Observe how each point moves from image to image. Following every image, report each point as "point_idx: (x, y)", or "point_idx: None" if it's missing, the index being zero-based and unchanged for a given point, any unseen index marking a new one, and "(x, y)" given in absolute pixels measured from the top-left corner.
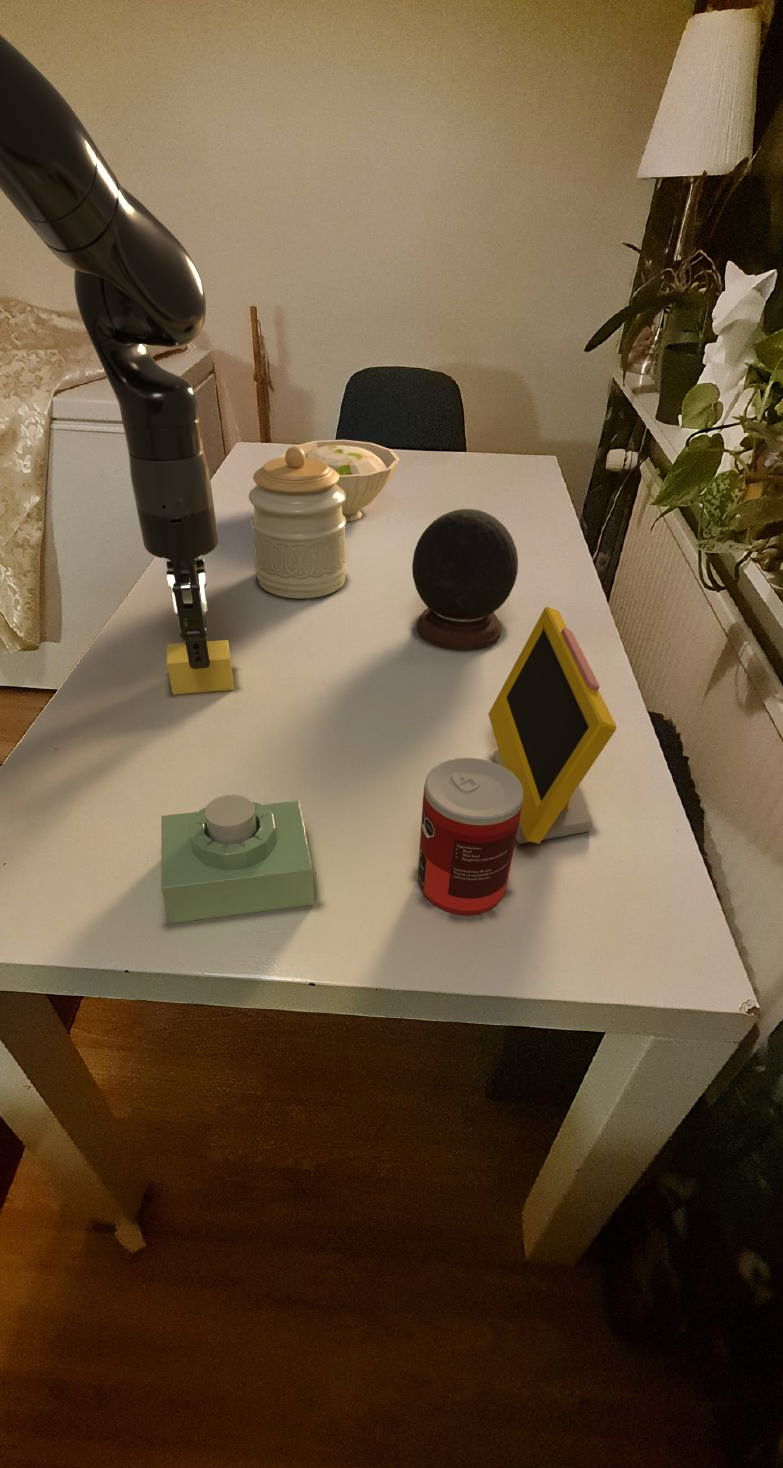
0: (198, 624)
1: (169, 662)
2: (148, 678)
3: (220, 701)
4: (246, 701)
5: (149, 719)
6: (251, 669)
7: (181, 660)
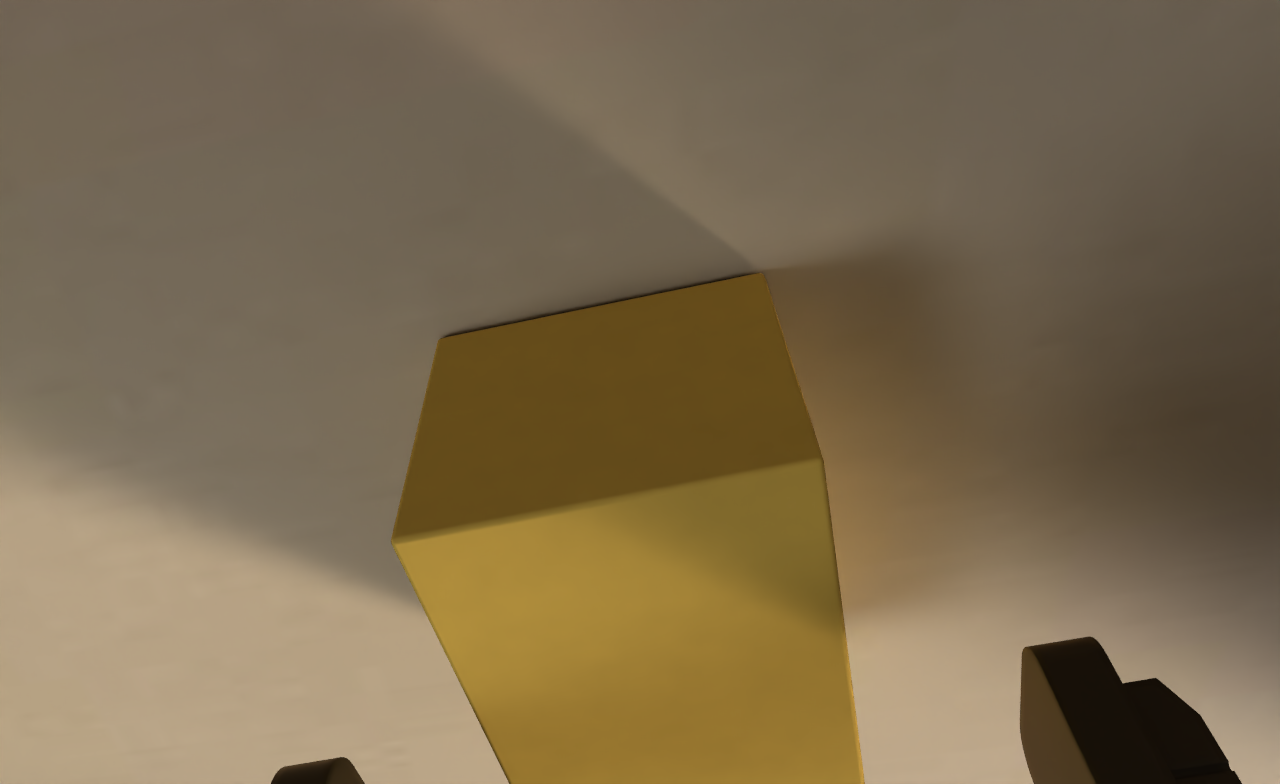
0: (1047, 766)
1: (417, 558)
2: (708, 65)
3: (412, 621)
4: (440, 729)
5: (15, 238)
6: None
7: (478, 636)
